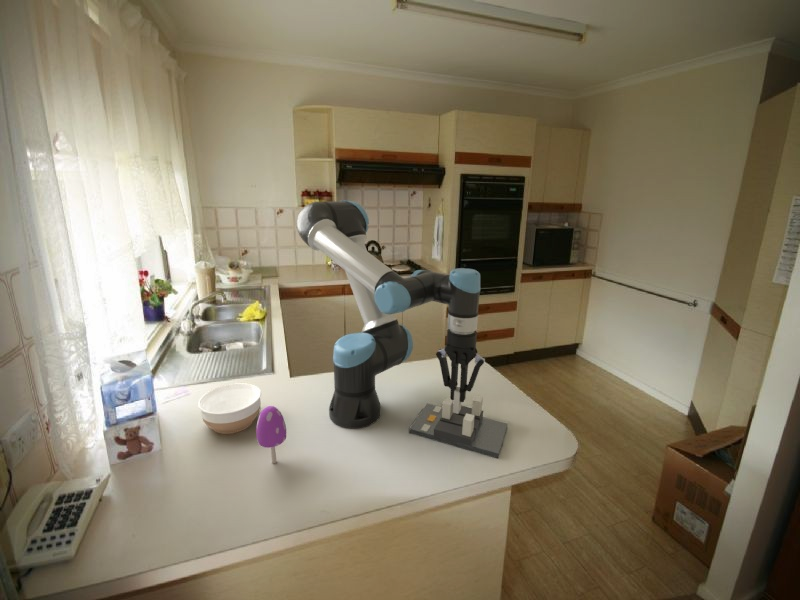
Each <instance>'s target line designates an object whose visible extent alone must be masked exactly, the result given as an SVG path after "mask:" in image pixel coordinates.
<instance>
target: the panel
mask: <svg viewBox="0 0 800 600" xmlns="http://www.w3.org/2000/svg"><path fill="white" fill-rule="evenodd" d="M441 416H442V406H439V405H435V404H431V403H426V404H425V405H424V407H423V408H422V410H421V411H420V413H419V414H417V416H416V418H415V420H414V421H412V422H413V423H412V424H411V425H410V427H409V428H408V433H409V434H412V435H414V436H418V437H421V438H424V439H428V440H431V441H434V442H438V443H442V444H445V445H448V446H453V447H456V448H459V449H462V450H467V451H469V452H474V453H477V454H481V455H484V456H487V457H490V458H495V459H499V457H500V454H501V451H502V447H503V443H504V440H505V437H506V434H507V430H508V425H509V424H508V422H503V421H500V420H497V419H493V418H492V419H491V418H487V417H484V416H483V418H482V420H481V423H480V425H479V428H478V430H477V432H476V435H475V437H474V440H473V442H472V444H471V446H469V445H465V444H462V443H458V442H455V441H451V440H448V439H444V438H441V437H437V436H434V428H435V426H436V425H437V423H438V421H440V418H441Z"/></svg>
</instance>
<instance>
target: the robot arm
mask: <svg viewBox="0 0 800 600" xmlns="http://www.w3.org/2000/svg"><path fill="white" fill-rule="evenodd" d="M369 224H370V220H369V216H368V213H367V211H366V210H365V208H364V207H363V206H362V205H361V204H360V203H358V202H357V201H350V200H345V199H344V200H339V201H338V200H336V201H334V200H333V201H313V202H312V201H311V203H308V204H306V205H305V206H304V207H302V209H301V210H300V211H299V213H298V215H297V219H296V230H297V232H298V235H299V237H300V239H301V240H302V242H304V243H305V244H306V245H307V246H308V247H310V248H311V249H312V250H314V251H320V252H322V253H323V254H324V255H325V256H327V257H328V258H329V259H330V260H332V261H333V262H334V263H335V264H336V265H338V266H339V267H340V268H341V269H342V270H344V272H345V275H346V278H347V280H348V282H349V286H350V289H351V291H352V293H353V297H354V299H355V302H356V306H357V307H358V310H359V314H360V317H361V319H362V321H363V324H364V325H363V328H362V330H361V332H355V333H353V332H352V333H348V334H346V335H343V336H341V337H339V339H337V340H336V342H335V343H334V344H333V345H334V346H333V354H332V362H333V381H334V383H333V384H334V386H333V387H334V392H333V395H332V397H331V400H330V404H329V407H328V414H329V419H330V421H331V422H332V423H333V424H335V426H338V427H341V428H346V429H361V428H365V427H367V426H370V425H372V424H375V423H376V422H377V421H378V420H379V419H380V417H381V415H382V405H381V402H380V399H379V395H378V394H377V390H376V376H378V375H379V374H381V373H383V372H385V371H387V370H390V369H391V368H393V367H396V366H399V365H401V364H403V362H405V361H407V360H408V359H409V358H410V357H411V355H412V351H413V348H414V341H413V336H412V333H411V332H410V330H409V329H408V328H407V327H406V326H405V325H402V324H400V323H399V321H398V318H397V317H394V315H395V314H400V313H404V312H405V311H407V310H410V309H412V308H415V307H419V306H421V305H424V304H428V303H430V302H436V303H441V304H443V305H448V306H447V308H448V309H447V310H448V311H447V328H448V329H447V330H446V345H445V346H444V348H442V349H441V348H440V349H438V351H437V352H436V353H435V356H436V357H437V359H438V360H439V366H440V371H441V375H442V382H443V385H444V386H445V387H448V388H449V389H450V397H449V399H451V400H454V402H453V413H456V414H459V412H460V410H461V406H462V403H464V401H466V396H467V395H466V394H467V392H469V393H470V392H471V391H472V390H473V388H474V386H475V383H476V380H477V377H478V375H479V371H480V368H481V367H482V366H483V365H484V363H485V361H486V357H485V356H481V355H480V354H478V350H477V337H478V335H477V334H478V332H477V330H478V325H479V323H478V321H479V305H480V294H481V293H480V292H481V289H482V288H481V273H480V272H479V271H477V270H476V269H473V268H464V267H460V268H458V267H457V268H453V269H452V270H451V271H450V272H449V274H446V273H441V272H437V271H431V270H427V269H426V270H424V269H418V270H414V271H413V273H412V274H411V275H410V276H409V277H408V276H407V277H402V276H401V275H399V274H398V273H397V272H395V271H394V270H393V269H392V268H390V267H389V266H387V265H386V264H385V263H383V262H382V261H381V260H379V259H378V258H377V257H376V256H374V255H373V254H371V253H370V252H368V250H367V247H366V244H365V243H366V241H367V239H368V236H367V235H368V234H367V233H368V231H369V226H368V225H369ZM392 315H393V316H392ZM447 356H448V357H447ZM448 358H449V360H450V361H451V364H450V367H451V371H450V369H449V364H448ZM473 360H474V364H475V365H474V367H473V370H472V371H471V375H470V378H469V381H468V371H469V370H468V369H469V364H470V363H471V362H472V361H473ZM459 365H460V380H459V381H460V383H458V377H459ZM458 384H459V386H458Z"/></svg>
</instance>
